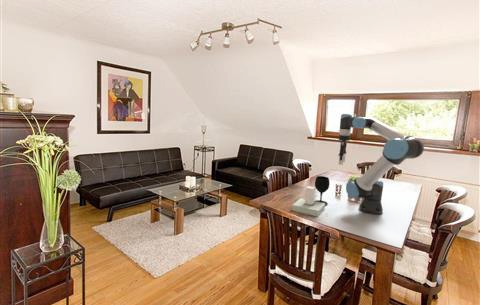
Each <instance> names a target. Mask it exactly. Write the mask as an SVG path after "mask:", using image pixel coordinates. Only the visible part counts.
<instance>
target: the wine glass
mask: <svg viewBox="0 0 480 305" xmlns="http://www.w3.org/2000/svg"><path fill="white" fill-rule="evenodd" d="M314 187H315V190H316V191H317V192H318V193H319V194H320V195H319V198H320V199H318V200H316V199H315V201H316V202H321V203H325V206H328V205H329V203H328V202H327V201H325V200H322V199H323V198H322V197H323V194H324V193H325V192H327V191H328V190H329V188H330V179H329V177H328V176H326V175H325V176H324V175H317V176H316V177H315V181H314Z"/></svg>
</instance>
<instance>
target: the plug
mask: <svg viewBox="0 0 480 305" xmlns="http://www.w3.org/2000/svg"><path fill="white" fill-rule="evenodd" d="M315 194H316V187H315V186H309V185H308V186H306V187H305V195H304V199H305V205H308V206H313V205H314V201H315Z"/></svg>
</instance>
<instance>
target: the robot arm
mask: <svg viewBox="0 0 480 305" xmlns="http://www.w3.org/2000/svg"><path fill="white" fill-rule="evenodd" d="M351 128H353V129H354V128H355V129H368V130H370V131H372V132H374V133H376V134H378V135H379V136H381V137H382V138H385V140H387V141H386V142H385V144H384V145H383V149H382V155H381V156H380V157H379V158H378V159H377V160H376V161H375V162H374V163H373V164H372V165H371V166H370V167H369V168H368V169H367V170H366V171H365V172H364V173H363V174H362V175H359V176H357V177H356V178H355V179H354V180H349V181H347V183H346V184H345V191H346V193H347V195H348V196H349V198H352V199H361V198H362V200H361V201H360V203H359V207H358V209H359V211H361V212H364V213H367V214H370V215H382V214H383V210H384V209H383V205H382V197H383V191H384V182H383V181H382V180H380V179H381V178H382V177H383V176H384V175H386V174H387V172H389V171H390V170H391V169H392V168H393V167H394V166H398V165H401V164H402V163H403V162H404V161H405V160H407V159H408V160H410V159H411V160H412V159H417V158H419V157H420V156H422V154H423V153H424V150H425V147H424V144H423V142H422V141H421V140H420V139H418V138H416V137H414V136H412V135H407V134H404V133H402V132H400V131H398V130H397V129H395V128H392V127H390V126H388V125H386V124H385V123H383V122H381V121H380V119H379V118H377V117H364V116H363V117H362V116H353V114H351V113H342V114H341V115H340V121H339V130H338V133H339V135H338V141H341V142H340V149H339V154H338V155H337V156H338V165H340V166H343V163H345V161H346V155H347V144H348V141H349V142H350V140H351V138H350V137H351V131H352V129H351Z"/></svg>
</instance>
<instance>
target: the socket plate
mask: <svg viewBox="0 0 480 305" xmlns="http://www.w3.org/2000/svg"><path fill="white" fill-rule="evenodd" d="M291 205H292V206H291V211H293V212H297V213H301V214H306V215H309V216H310V215H311V216H314V217H319V216H320V215H321V214H322V213H323V212H324V211H325V209H326V205H325V203H321V202H316V200H314V205H313V206H308V205H305V198H301V197H300V198H299V199H298V200H297V201H295V202H294V203H292V204H291Z"/></svg>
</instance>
